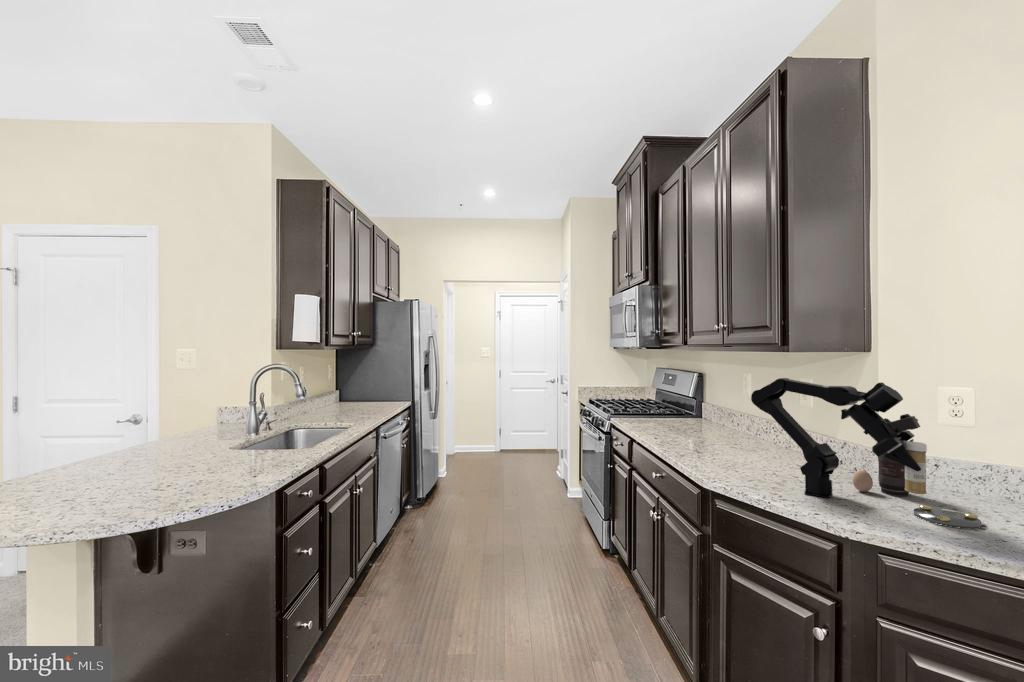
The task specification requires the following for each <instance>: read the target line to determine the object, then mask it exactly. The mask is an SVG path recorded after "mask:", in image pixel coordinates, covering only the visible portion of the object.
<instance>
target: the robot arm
mask: <svg viewBox="0 0 1024 682" xmlns="http://www.w3.org/2000/svg"><path fill="white" fill-rule="evenodd" d="M786 392H790V393H795V394H800V395H805V396H810V397H814V398H819V399H821V400H824V402H825V401H826V402H827V403H830V404H832V405H834V406H837V407H845V406H850V407H849V408H844V409H841V410H840V411H841V415H840V419H841V420H845V419H847V418H849V417H850V418H851V419H852V420H853V421H854V422H855V423H856V424H857V425H858V426H859V427H860V428H862V430H863V433H864V434H865V436H866V435H869V437H871V439H873V440H874V441H875V442H876V443H875V445H873V446H872V447H871V448H872V453H873V454H874V455H875V456H876V457H877V458H878V457H879V456H881V455H883V454H884V453H886V452H887V453H888V454H886V455H885V456H884V457H887V458H889V459H891V460H893V461H896V462H898V463H900V464H902V465H905V466H907V467H909V468H911V469H913V470H915V471H920V470H921V468H920V466H919V465H918V464H917V463H916V461H915V460H914V459H913V458H912V457H911V455H910V454H909V453H908V452H907V450H906V443H904V442H907V441H910V442H915V441H914V439H913V438H914V437H915V434H914V433H912V432H911V430H916V429H919V428H921V425H920V423H919V422H918V421H919V420H918V418H916V416H915V415H911V414H909V413H906V414H902V415H901V414H900V417H899V419H897V420H893V421H891V420H890V419H888V418H884V417H882V416H881V415H880V414H879V413H887V412H888V411H889V410H891V409H892V408H893V407H895V406H896V405H898V404H899V403H901V402H902V401H903V400H904V398H903V396H902V395H901V394H900V392H898V390H896V389H894V388H893V387H891V386H889V385H886V384H885V383H884V382H877V383H876V384H875V385H874V386H873V387H872V388H871V389H870V390H868V391H866V392H865V391H864V392H863V391H860V390H858V389H857V388H856V387H854V386H850V385H823V384H818V383H810V382H806V381H802V380H795V379H792V378H791V379H790V378H788V377H782V378H781V377H780V378H777V379H776V380H774V381H772V382H770V383H769V384H767V385H765V386H763V387H762V388H761V387H760V389H755V390H754V391H752V393H751V397H750V400H751V402H752V404H753V405H754V406H756V407H757V408H758V409H759V410H761V411H763V412H764V413H766V414H768V415H770V416H771V417H772V418H773V419H774V420H775V422H776V423H777V424H778V425H779V426H780V427H781V428H782V429H783V431H784V432H785V433H786V434H787V436H789V437H790V438H791V439H792V440H793V441H794V443H796V444H797V446H798V447H799V448H800V449H801V451H802V454H803V458H804V460H805V461H806V462H805V463H804V464H803V465H802V466H800V468H799V469H800V472H801V474H802V475H804V484H805V485H804V486H805V491H804V495H808V496H809V495H810V496H814V497H820V498H827V499H830V498H831V496H832V495H833V480H832V479H831V478H830V477H831V476H830V475H833V474H834V471H835V470H836V469H837V468H838V467H839V465H840V459H839V457H838V456H837V454H838V453H837V451H834V450H833V449H832V448H831V446H830V445H829V444H828V443H826V442H825V443H819V442H817V441H816V440H815V439H814V438H813V437H812V436H811V435H810V434H809V433H808V432H807V431H806V429H804V427H802V426H801V425H800V423H799V422H798V421H796V420H795V418H794V417H793V416H792V415H791V414H790V413H789V412H788V411H787V410H786V409H785V407H784V406H783V401H782V400H781V397H782V396H784V395H785V393H786ZM862 401H863V402H862ZM858 402H862V403H860V404H858Z"/></svg>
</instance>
